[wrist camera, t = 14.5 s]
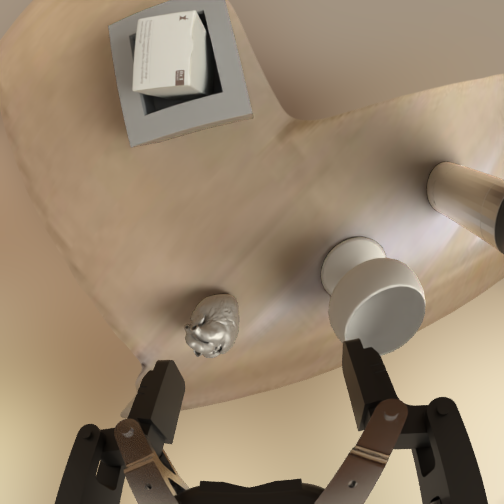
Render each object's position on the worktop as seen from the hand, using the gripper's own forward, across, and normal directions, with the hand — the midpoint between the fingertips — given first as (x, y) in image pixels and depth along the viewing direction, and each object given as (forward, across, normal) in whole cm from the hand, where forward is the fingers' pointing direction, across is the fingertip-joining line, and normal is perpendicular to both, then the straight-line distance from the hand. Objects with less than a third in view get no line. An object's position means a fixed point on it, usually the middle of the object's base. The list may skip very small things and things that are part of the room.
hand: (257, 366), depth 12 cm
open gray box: (+31, +6, -20) cm, 37 cm away
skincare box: (+30, +5, -20) cm, 37 cm away
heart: (+31, +10, +18) cm, 37 cm away
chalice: (+32, -14, +14) cm, 37 cm away
